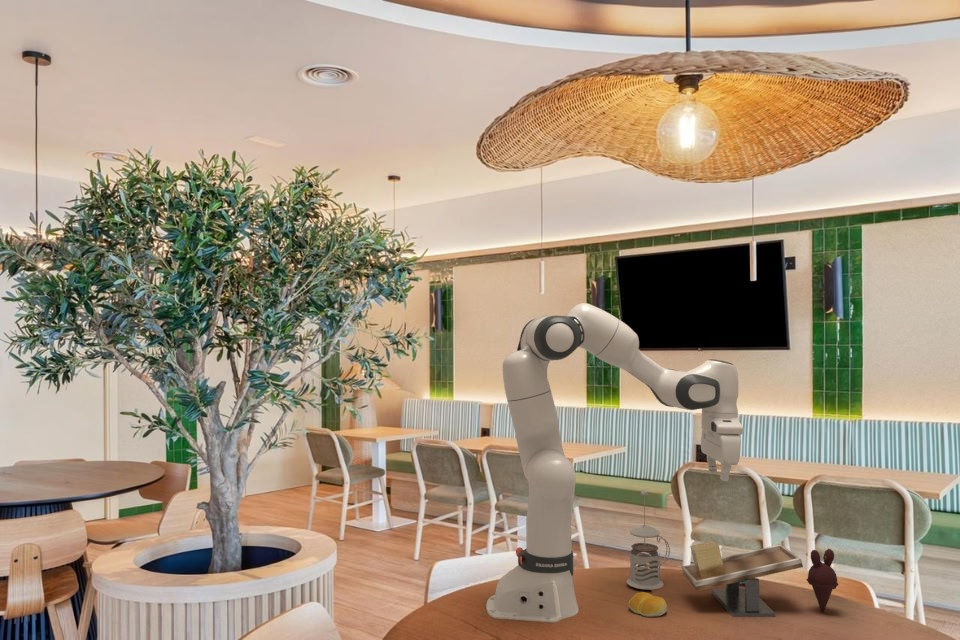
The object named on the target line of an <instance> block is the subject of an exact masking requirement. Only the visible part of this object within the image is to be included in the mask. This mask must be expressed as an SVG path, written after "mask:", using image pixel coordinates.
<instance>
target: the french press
mask: <svg viewBox="0 0 960 640" xmlns="http://www.w3.org/2000/svg"><path fill="white" fill-rule="evenodd" d="M640 495H642V496H643V512H644V513H643V519H644V520H643V521H644V522H643V524H642V525H638V526H634V527H632V528H630V530H629V534H630V535H631V536H632V537H633V536H634V537H637V538H642V539H643V541H644V542H636V543H633V544H632V545H630V546H631V548H632V549H631V550H630V552H629V554H630V555H629V559H630V561H629V562H630V565H629V566H630V567H629V568H630V574H629V575H630V577H629V578H627V580H626V583H627V585H628V586H630V587H633V588H636V589H640V590H658V589H661V588H663V587H664V586H665V584H664V582H663V581H662V580H661V566H662V565H663V564H666V562H667V561H668V560H669V557H670V554H671V548H670V544H669V543H668V541H667V540H666V539H665V538H664V537H662V536H660V534H661V532H660V531H659V530H658V529H656V528H655V527H654V526H653V527H652V526H649V525H646V508H645V507H646V498H645V497H646V496H648V495H649V493H648V490H646V489H644V490H643V489H642V490H641V491H640ZM651 538H656V541H657V542H658V543H660V542H661V540H663V541H664V543H665V546H666V548H665V549H666V551H665V555H664V557H663V558H662V559H661V560H660V557H661V556H660V554H661V553H659V551H658V550H659V547H658V546H657V544H656V545H655V544H653V543H649V542H646V539H651ZM640 553H644V554H640ZM645 553H647V554H649V555H647V554H645ZM638 554H639V555H638ZM666 557H667V558H666ZM662 561H664V562H662Z"/></svg>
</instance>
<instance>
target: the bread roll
mask: <svg viewBox="0 0 960 640" xmlns="http://www.w3.org/2000/svg"><path fill="white" fill-rule="evenodd" d="M628 607H629V609H630V610H631V611H632V612H633V613H635V614H637V615H640V616H643V617H647V618H648V617H649V618H652V617H653V618H654V617H660V616H662V615H664V614H665V613H667V611H668V605H667V602H666V600H665V599H664V598H662V597H660V596H656V595H655V596H654V595H652V593H651V594H650V593H649V592H646V591H645V592H644V591H640V592H637V593H635V594H634V595H633V596H632V597H631V598H630V599H629V600H628Z"/></svg>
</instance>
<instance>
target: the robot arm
mask: <svg viewBox="0 0 960 640" xmlns="http://www.w3.org/2000/svg"><path fill="white" fill-rule="evenodd" d="M639 339H640V338H639V336H638V334H637V333H636V332H635V331H634V330H633V328H631V327H630V326H629V325H628V324H626V323H625V322H623V321H622V320H620V319H619V318H617V317H616V316H614V315H612V314H611V313H609V312H608V311H605V310H603V309H602V308H599V307H597V306H595V305H593V304H590V303H588V302H581V303H578V304H576V305H574V306H573V307H572V308H571V309H570V311H569V312H568V313H567V315H542V316H538V317H536V318H533V319H531V320H530V321H528V322H527V323H526V324H525V325H524V326H523V328H522V330H521V333H520V337H519V342H518V345H517V348H516V351H514V352H512V353H510V354H509V355H507V356H506V357H505V358H504V360H503V361H502V379H503V385H504V391H505V392H504V393H505V396H506V400H507V401H506V402H507V405H508V408H509V412H510V417H511V421H512V425H513V428H514V434H515V438H516V443H517V448H518V452H519V456H520V457H519V458H520V462H521V467H522V471H523V474H524V477H525V479H526V480H527V482H528V483H527V484H528V501H527V512H526V517H525V529H526V530H525V532H526V533H525V534H526V535H525V536H526V539H525V540H526V541H525V544H526V545H525V549H523V548H522V547H517V548H516V549H515V555H516V556H517V565H516V566H514V568H512V569H511V570H510V571H508V572H507V573H506V574H504V575H502V576H501V578H499V580H498V582H497V585H496V589H495V593H494V594H493V595H491V596H490V597H489V598H488V599H487V601H486V605H485V606H486V607H485V608H486V609H485V610H486V613H487V614H488V615H489V616H490V617H492V618H494V619H500V620H514V621H528V622H541V623H558V622H560V621H561V620H564V619H567V618H570V617H574V616H576V615H577V614H578V613H579V610H580V608H579V605H578V602H577V598H576V592H575V586H574V577H573V575H574V571H575V556H574V552H573V550H572V517H573V509H574V502H575V492H576V491H575V490H576V484H577V475H576V471H575V467H574V465H573V463H572V462H571V461H570V460H569V459H568V458H567V456H566V455H565V452H564V449H563V442H562V438H561V432H560V421H559V418H558V413H557V410H556V405H555V401H554V398H553V397H554V396H553V394H552V390H551V389H552V388H551V386H550V382H549V379H548V367H549V364H550V362H551V361H561V360H564V359H565V358H568V357H569V356H570V355H571V354H573V353H574V352H575V351H576V350H577V349H578V348H581V349H584V350H585V351H586V352H588V353H589V354H591V355H592V356H594V357H596V358H597V359H599V360H601V361H603V362H604V363H607V364H609V365H610V366H614V367H616V368H619V369H622V370H624V371H626V372H627V373H628V374H630V375H631V376H633V377H634V378H636V379H637V380H639V381H640V382H642V383H643V384H644V385H646V386H647V387H648V388H649V389H650V391H651V392H652V394H653V395H654V397H655V399H656V400H657V401H658V402H659V403H660V404H661V405H663V406H666V407H671V408H677V409H682V410H687V411H697V410H701V427H700V428H701V429H702V430H701V438H700V439H701V440H700V450H701V453H702V454H704V455H706V462H707V465H708V469H707V470H708V472H709V473H710V474H714V475H715V474H717V473H718V471H717V469H718V467H717V462H719V463H720V468H721V469H720V472H719V479H720V481H723V482H728V481H729V479H730V473H731V470H732V466H738V464H739V462H740V459H741V447H742V446H741V444H742V439H741V435H743V434H744V426H743V425H742V423H741V422H740V420H739V417H738V416H739V411H738V405H737V403H738V397H739V376H738V375H739V374H738V370H737V367H736V366H735V365H734V364H733V363H731V362H729V361H726V360H721V359H719V360H718V359H712V358H711V359H707V360H706V361H705V362H704V363H702V364H701V365H698V366H696V367H695V368H692V369H690V370H688V371H683V370H678V369H673V368H666V367H663V366H661V365H659V364H658V363H657V362H655V361H654V360H653V359H651V358H650V357H649V356H647V355H646V354H645V353H643V352H642V351H641V350H640V340H639ZM716 461H717V462H716Z"/></svg>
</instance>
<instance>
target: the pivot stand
mask: <svg viewBox="0 0 960 640" xmlns="http://www.w3.org/2000/svg"><path fill="white" fill-rule="evenodd" d="M711 594H712V596H713V597H714V598H715V599H716V600H717V602H718V603H719V604H720V605H721V606H722V607H723V608H724V610H726V612H727V613H728V614H729V615H730V616H731V617H733V618H776V616H777V615H776V612H775V611H774V610H773V609H772V608H771V607H769V605H767V603H766V602H764V601H763V599H762V598H760V578H759V577H757V578H745V583H744V588H740V582H734V583H730V584H725V588H711Z"/></svg>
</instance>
